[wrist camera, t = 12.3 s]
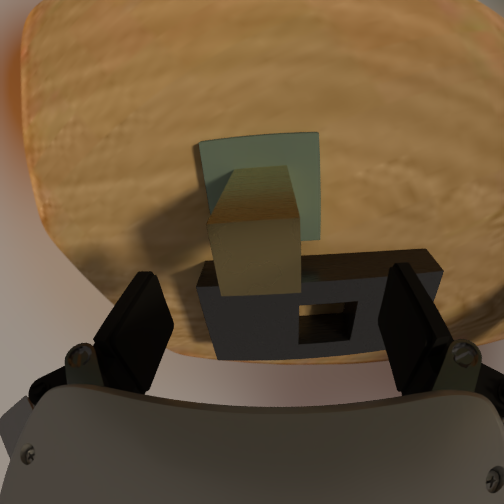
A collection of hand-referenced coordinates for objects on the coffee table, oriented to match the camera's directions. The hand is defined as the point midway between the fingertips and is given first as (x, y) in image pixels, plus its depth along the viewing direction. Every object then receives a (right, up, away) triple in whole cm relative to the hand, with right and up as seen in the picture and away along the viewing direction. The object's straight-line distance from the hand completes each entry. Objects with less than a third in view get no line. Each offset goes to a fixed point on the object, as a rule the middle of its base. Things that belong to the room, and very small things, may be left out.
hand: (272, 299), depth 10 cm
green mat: (0, +7, +11) cm, 13 cm away
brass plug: (0, +7, +11) cm, 12 cm away
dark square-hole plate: (+6, -3, +17) cm, 18 cm away
